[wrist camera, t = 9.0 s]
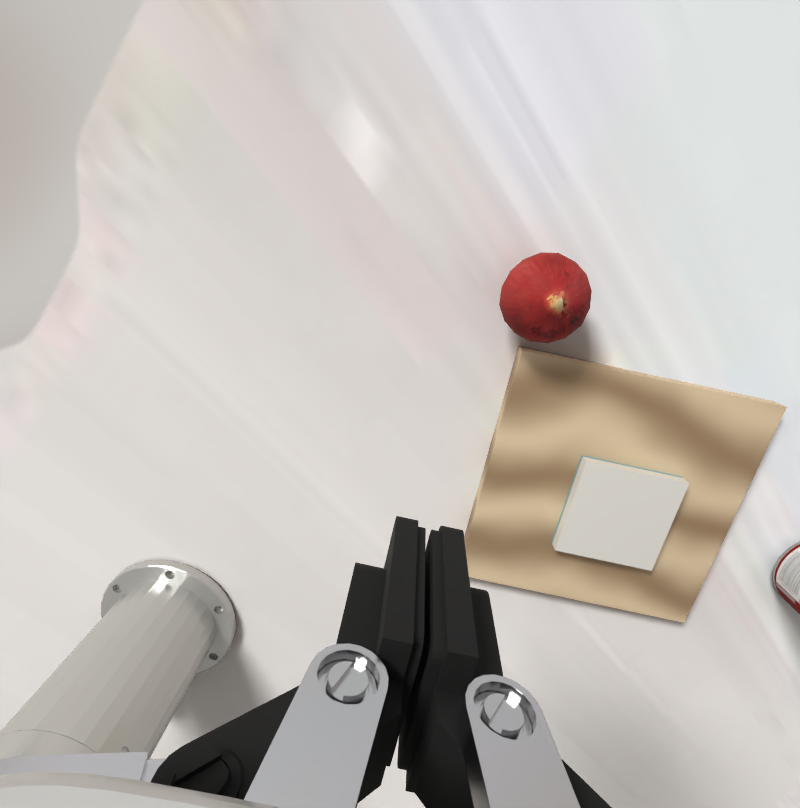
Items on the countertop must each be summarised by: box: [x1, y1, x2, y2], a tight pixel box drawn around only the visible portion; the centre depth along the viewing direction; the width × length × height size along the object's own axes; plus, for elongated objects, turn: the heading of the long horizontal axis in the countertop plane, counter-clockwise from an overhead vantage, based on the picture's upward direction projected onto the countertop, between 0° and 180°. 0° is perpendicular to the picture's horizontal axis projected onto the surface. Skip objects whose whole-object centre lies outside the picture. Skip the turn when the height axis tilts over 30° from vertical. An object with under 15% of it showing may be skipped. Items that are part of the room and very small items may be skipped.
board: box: [464, 347, 787, 623], centre depth 40 cm, size 20×20×2 cm
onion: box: [499, 253, 591, 343], centre depth 32 cm, size 6×6×8 cm
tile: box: [551, 455, 689, 571], centre depth 39 cm, size 8×1×8 cm
